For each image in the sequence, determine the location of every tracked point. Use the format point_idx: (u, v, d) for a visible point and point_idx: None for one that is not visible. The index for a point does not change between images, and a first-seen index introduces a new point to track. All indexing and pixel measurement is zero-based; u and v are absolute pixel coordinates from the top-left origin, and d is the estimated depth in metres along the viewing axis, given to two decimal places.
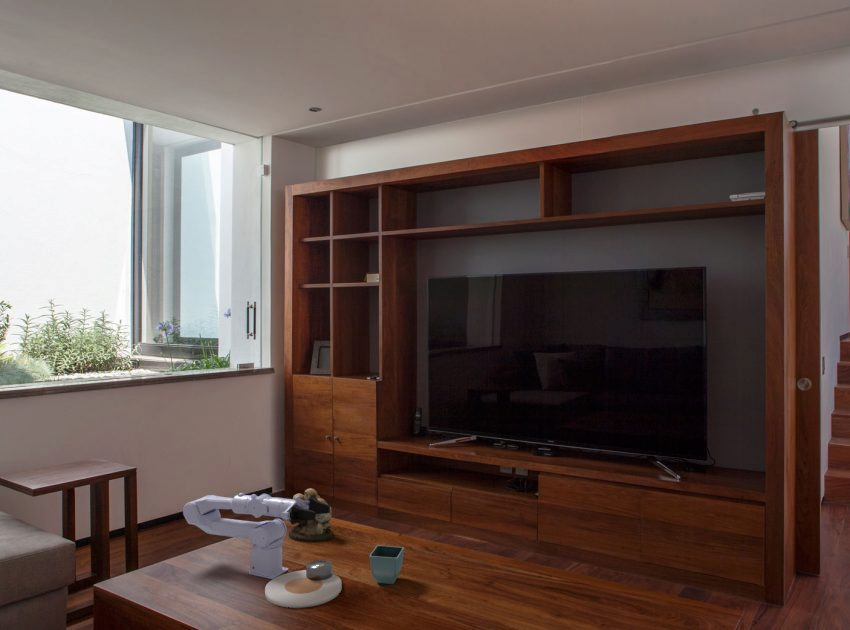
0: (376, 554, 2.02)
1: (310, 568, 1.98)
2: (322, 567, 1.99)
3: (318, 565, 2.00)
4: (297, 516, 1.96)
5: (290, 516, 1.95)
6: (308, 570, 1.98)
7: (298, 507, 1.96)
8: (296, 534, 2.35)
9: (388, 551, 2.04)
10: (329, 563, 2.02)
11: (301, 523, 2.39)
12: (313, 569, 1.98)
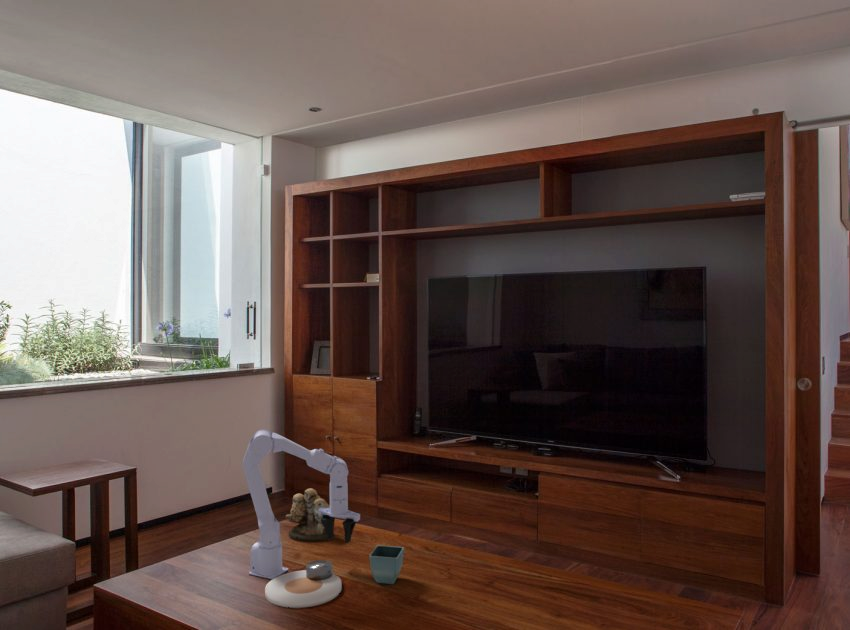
0: (376, 554, 2.02)
1: (310, 568, 1.98)
2: (322, 567, 1.99)
3: (318, 565, 2.00)
4: None
5: (353, 521, 2.08)
6: (308, 570, 1.98)
7: None
8: (296, 534, 2.35)
9: (388, 551, 2.04)
10: (329, 563, 2.02)
11: (301, 523, 2.39)
12: (313, 569, 1.98)
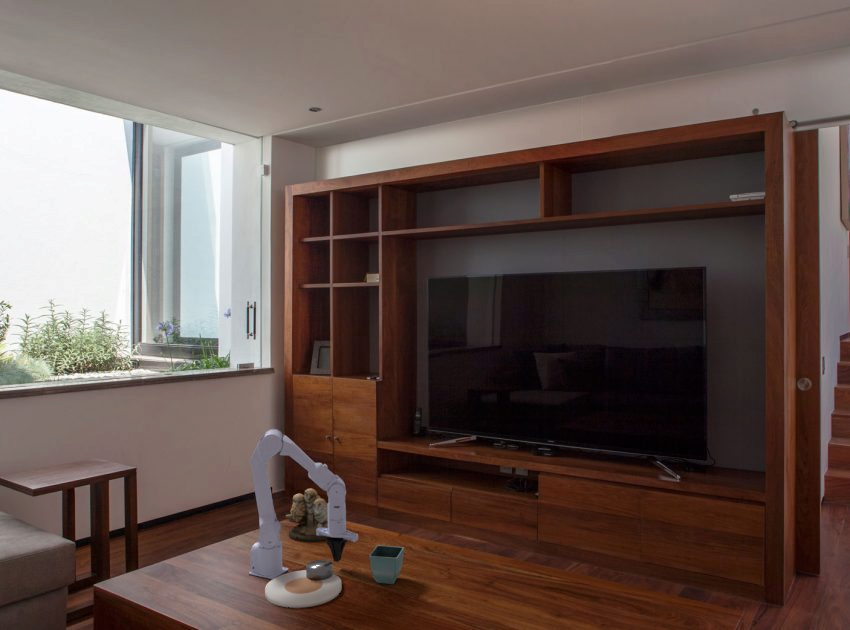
0: (376, 554, 2.02)
1: (310, 568, 1.98)
2: (322, 567, 1.99)
3: (318, 565, 2.00)
4: None
5: (343, 540, 2.08)
6: (308, 570, 1.98)
7: None
8: (296, 534, 2.35)
9: (388, 551, 2.04)
10: (329, 563, 2.02)
11: (301, 523, 2.39)
12: (313, 569, 1.98)
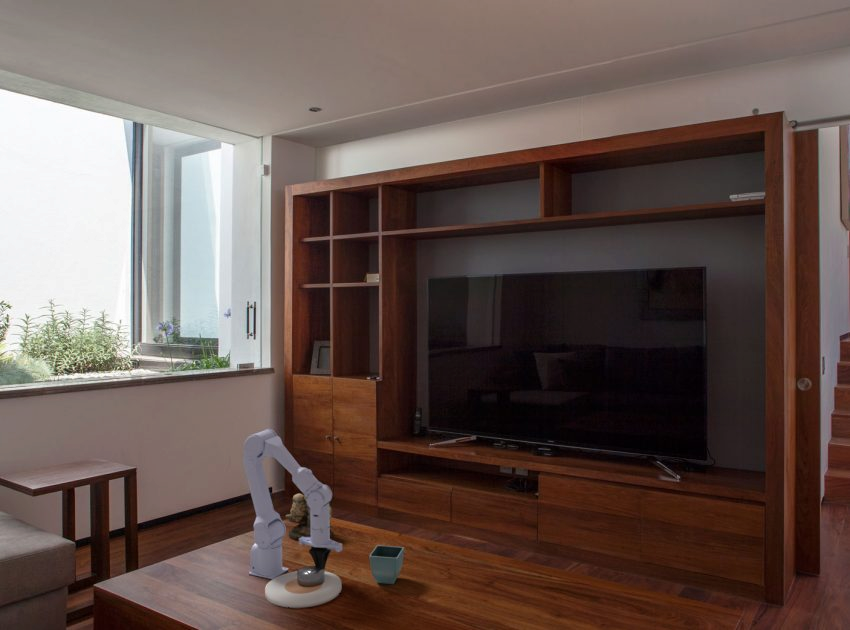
0: (376, 554, 2.02)
1: (302, 575, 1.93)
2: (314, 573, 1.95)
3: (309, 571, 1.96)
4: None
5: (327, 549, 2.00)
6: (299, 577, 1.93)
7: None
8: (296, 534, 2.35)
9: (388, 551, 2.04)
10: (321, 569, 1.97)
11: (301, 523, 2.39)
12: (305, 576, 1.93)
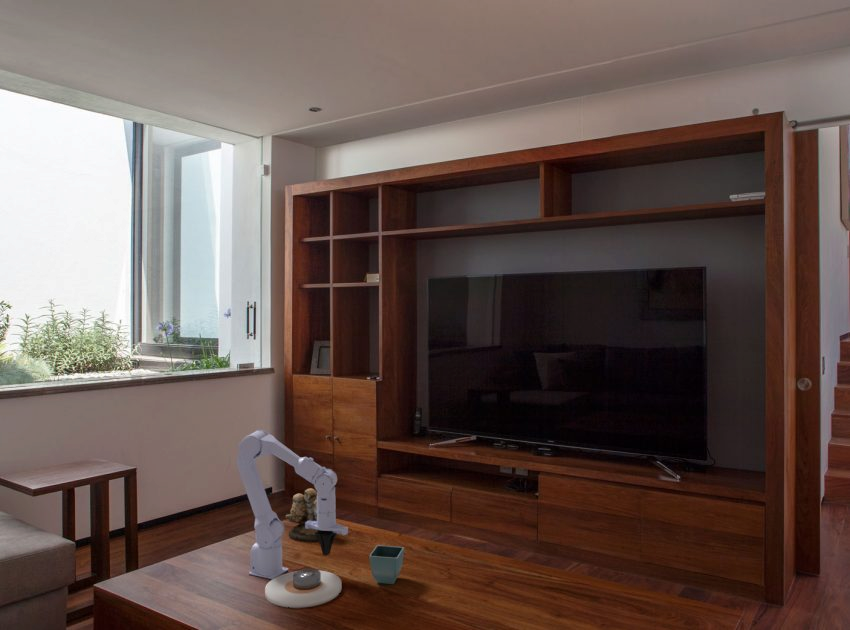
0: (376, 554, 2.02)
1: (297, 578, 1.91)
2: (310, 576, 1.93)
3: (305, 574, 1.94)
4: None
5: (333, 533, 2.03)
6: (295, 580, 1.91)
7: None
8: (296, 534, 2.35)
9: (388, 551, 2.04)
10: (317, 572, 1.95)
11: (301, 523, 2.39)
12: (301, 579, 1.91)
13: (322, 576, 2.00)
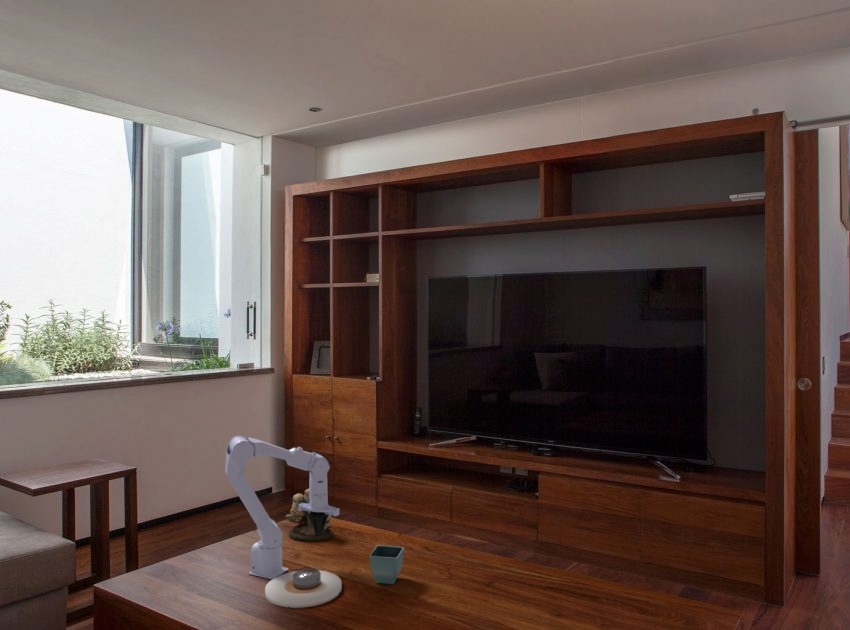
0: (376, 554, 2.02)
1: (297, 578, 1.91)
2: (310, 576, 1.93)
3: (305, 574, 1.94)
4: None
5: (325, 514, 2.11)
6: (295, 580, 1.91)
7: None
8: (296, 534, 2.35)
9: (388, 551, 2.04)
10: (317, 572, 1.95)
11: (301, 523, 2.39)
12: (301, 579, 1.91)
13: (322, 576, 2.00)
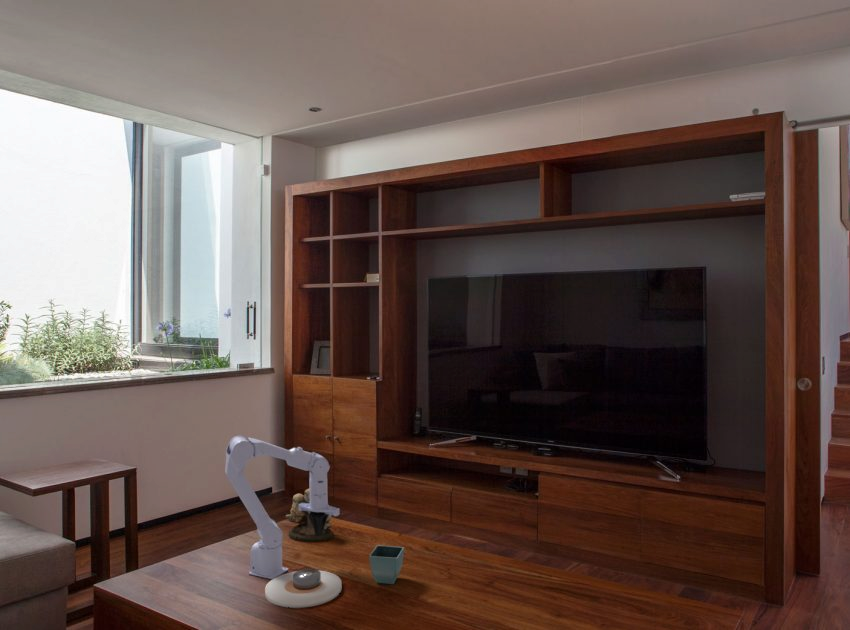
0: (376, 554, 2.02)
1: (297, 578, 1.91)
2: (310, 576, 1.93)
3: (305, 574, 1.94)
4: None
5: (325, 514, 2.11)
6: (295, 580, 1.91)
7: None
8: (296, 534, 2.35)
9: (388, 551, 2.04)
10: (317, 572, 1.95)
11: (301, 523, 2.39)
12: (301, 579, 1.91)
13: (322, 576, 2.00)
